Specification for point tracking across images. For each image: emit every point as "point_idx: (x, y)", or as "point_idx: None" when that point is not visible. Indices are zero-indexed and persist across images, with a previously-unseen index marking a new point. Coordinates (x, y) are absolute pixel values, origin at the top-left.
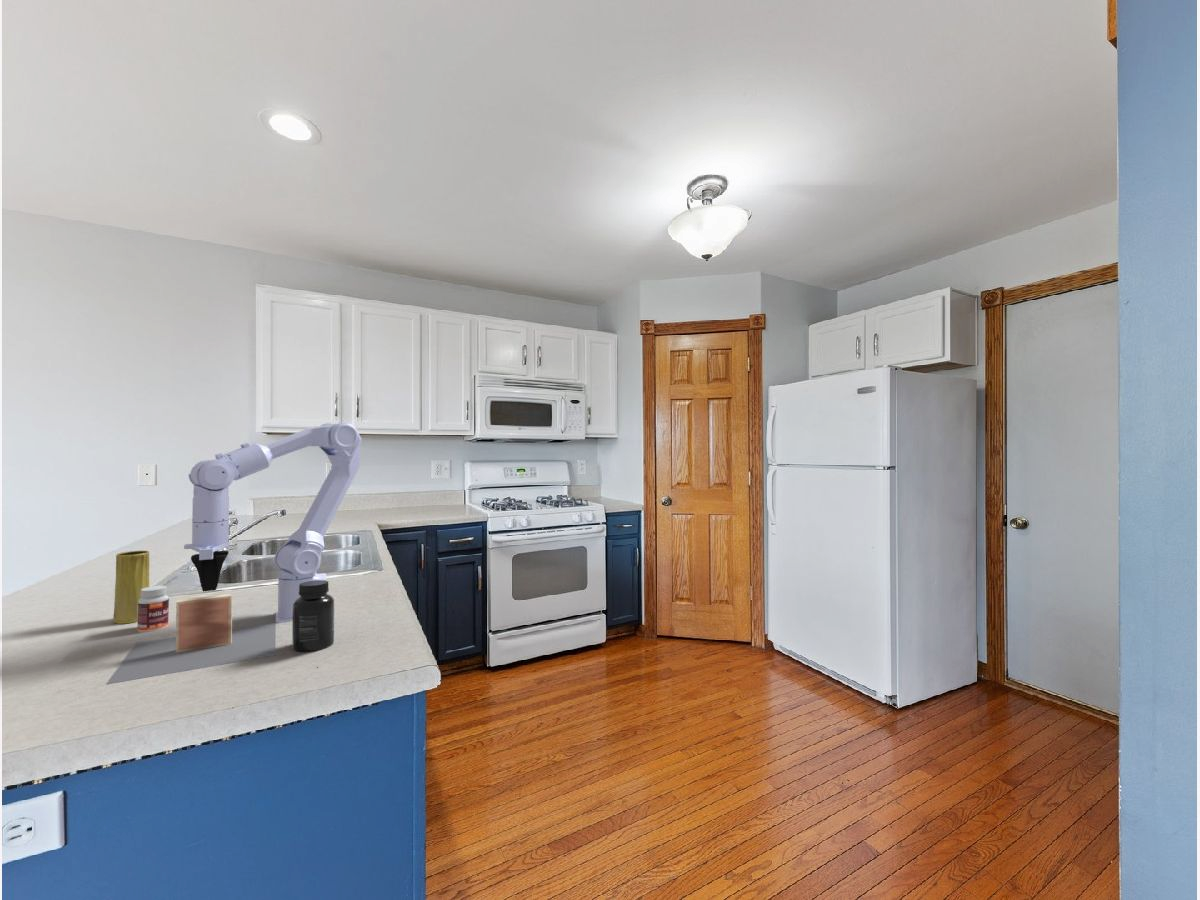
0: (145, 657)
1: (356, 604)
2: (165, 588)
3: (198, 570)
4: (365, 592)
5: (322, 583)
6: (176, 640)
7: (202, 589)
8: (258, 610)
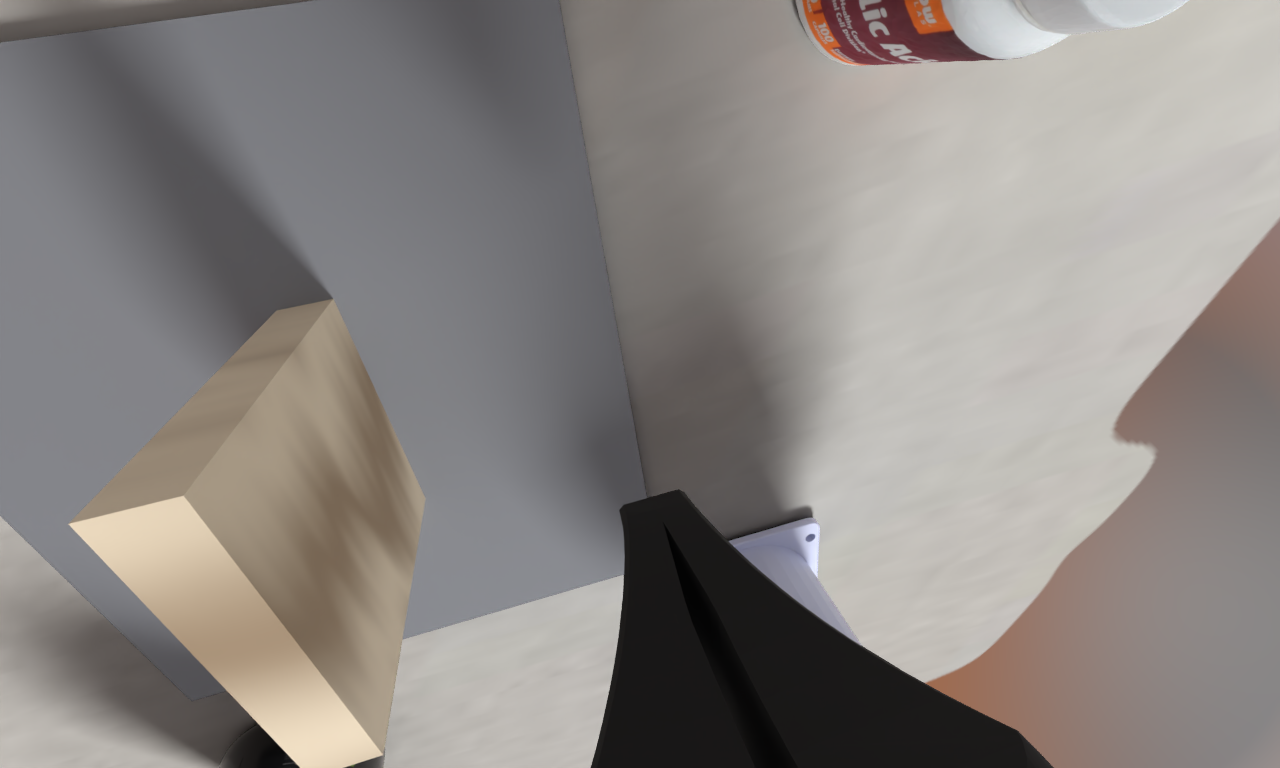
0: (197, 161)
1: None
2: (1105, 26)
3: (605, 718)
4: (925, 681)
5: None
6: (247, 343)
7: (622, 516)
8: (915, 429)
